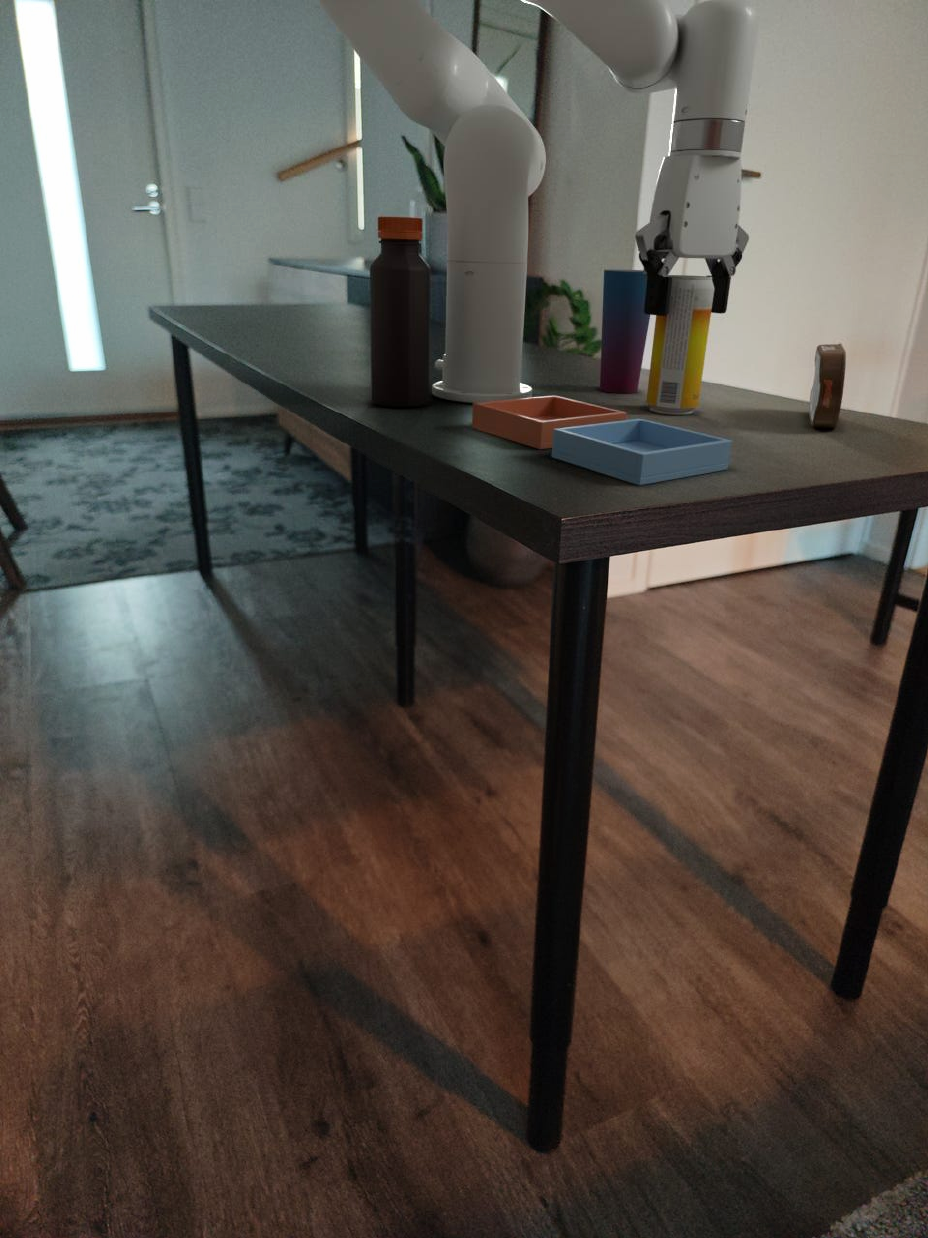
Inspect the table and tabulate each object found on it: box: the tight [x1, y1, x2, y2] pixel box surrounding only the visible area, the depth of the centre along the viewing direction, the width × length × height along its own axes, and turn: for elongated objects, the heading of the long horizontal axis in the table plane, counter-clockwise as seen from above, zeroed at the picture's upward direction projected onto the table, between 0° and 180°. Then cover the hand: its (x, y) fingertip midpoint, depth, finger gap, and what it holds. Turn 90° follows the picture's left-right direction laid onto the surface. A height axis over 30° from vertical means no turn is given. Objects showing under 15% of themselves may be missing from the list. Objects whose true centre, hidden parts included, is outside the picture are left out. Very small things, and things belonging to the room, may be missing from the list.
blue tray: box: [550, 418, 733, 486], centre depth 77 cm, size 11×11×3 cm
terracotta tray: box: [471, 394, 628, 451], centre depth 88 cm, size 11×11×3 cm
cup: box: [599, 268, 651, 394], centre depth 112 cm, size 7×7×15 cm
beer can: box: [645, 274, 714, 416], centre depth 99 cm, size 6×6×15 cm
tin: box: [808, 342, 847, 430], centre depth 97 cm, size 15×3×8 cm, turn 161°
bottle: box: [369, 216, 432, 409], centre depth 97 cm, size 7×7×20 cm
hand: (685, 313), depth 98 cm, fingers open, 9 cm apart
